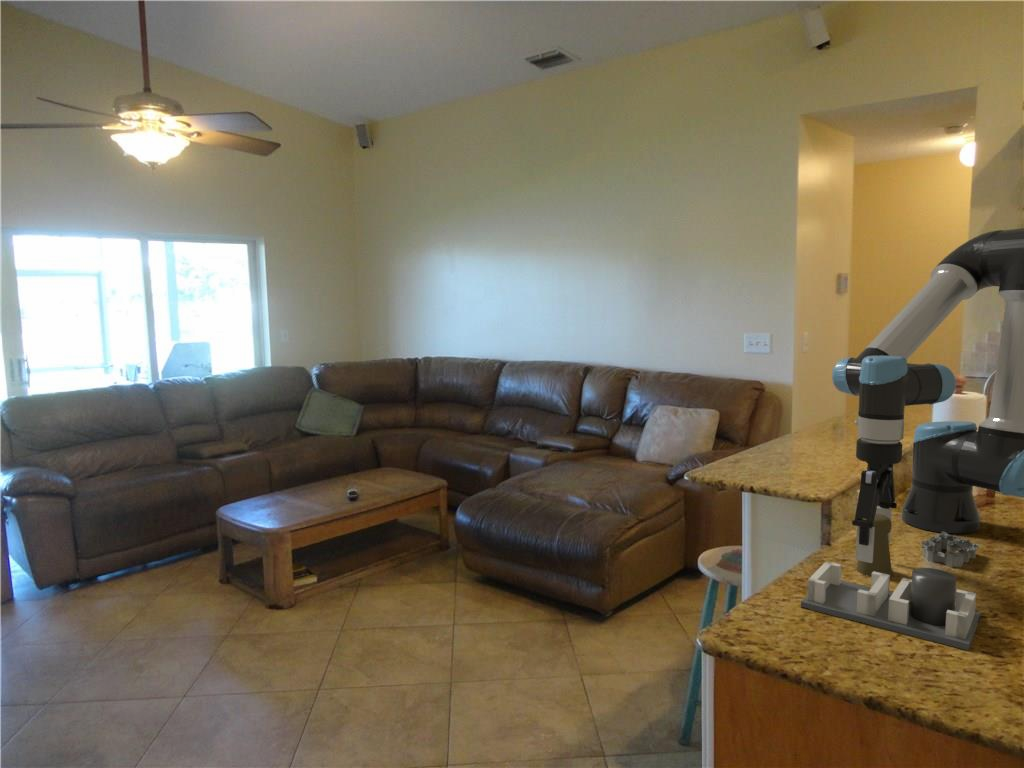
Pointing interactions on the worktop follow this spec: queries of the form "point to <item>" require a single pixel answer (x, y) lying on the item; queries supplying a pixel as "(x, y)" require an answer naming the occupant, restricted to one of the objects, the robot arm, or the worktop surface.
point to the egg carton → (949, 549)
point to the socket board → (899, 604)
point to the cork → (878, 548)
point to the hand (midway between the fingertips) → (873, 550)
